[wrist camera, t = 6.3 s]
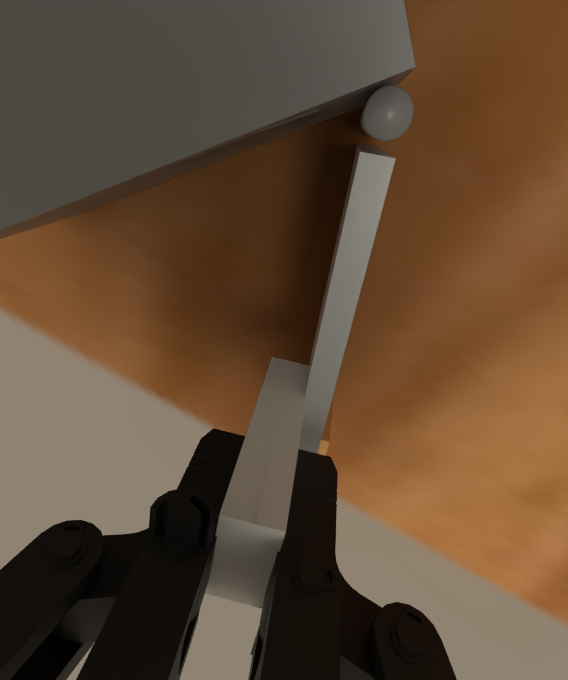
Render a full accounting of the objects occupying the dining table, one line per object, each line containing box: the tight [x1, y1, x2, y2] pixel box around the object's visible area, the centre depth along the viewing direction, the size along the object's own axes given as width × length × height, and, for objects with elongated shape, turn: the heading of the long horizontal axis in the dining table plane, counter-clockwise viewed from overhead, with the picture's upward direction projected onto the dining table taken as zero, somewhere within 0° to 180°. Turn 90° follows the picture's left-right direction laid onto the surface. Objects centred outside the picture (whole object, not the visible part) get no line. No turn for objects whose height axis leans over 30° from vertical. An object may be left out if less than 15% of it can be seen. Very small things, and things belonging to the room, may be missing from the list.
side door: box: [299, 143, 396, 456], centre depth 15 cm, size 12×1×7 cm, turn 171°
